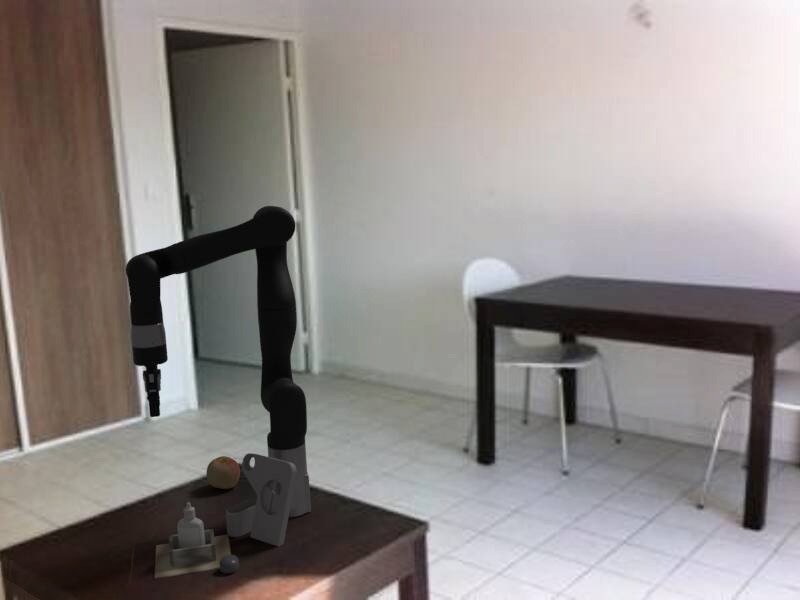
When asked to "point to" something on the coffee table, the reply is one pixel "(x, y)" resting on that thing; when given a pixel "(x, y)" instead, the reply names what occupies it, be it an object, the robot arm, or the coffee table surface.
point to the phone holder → (264, 501)
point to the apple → (223, 472)
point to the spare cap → (229, 564)
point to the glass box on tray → (190, 556)
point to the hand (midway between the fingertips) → (155, 411)
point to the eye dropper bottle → (190, 529)
